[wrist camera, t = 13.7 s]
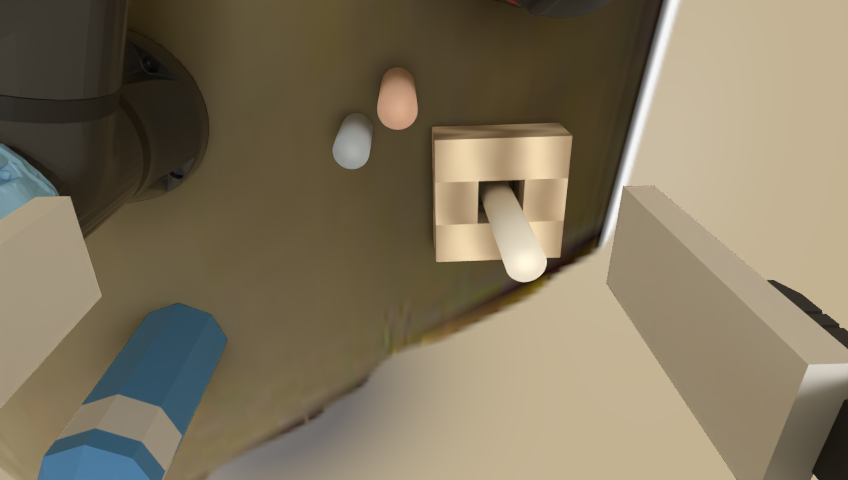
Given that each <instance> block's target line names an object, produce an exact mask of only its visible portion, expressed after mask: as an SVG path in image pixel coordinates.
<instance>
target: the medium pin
mask: <svg viewBox="0 0 848 480" xmlns="http://www.w3.org/2000/svg"><path fill="white" fill-rule="evenodd" d="M417 112H418V107H417V98H416V90H415V82H414V78H413V76H412V74H411V73H410V72H409V71H408V70H407V69H405V68H402V67H394V68H391V69H389V70H388V71H387V72H386V73H385V74H384V75H383V78H382V82H381V87H380V93H379V99H378V105H377V113H378V116H379V119H380V120H381V122H382V123H383V124H384V125H385V126H387V127H388V128H391V129H395V130H400V129H404V128H407V127H409V126H410V125H411V124H412V123H413V122H414V121H415V119H416V117H417Z"/></svg>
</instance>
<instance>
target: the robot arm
mask: <svg viewBox="0 0 848 480" xmlns="http://www.w3.org/2000/svg"><path fill="white" fill-rule="evenodd" d="M128 8H129V0H0V409H1V407H2V406H3V405H4V404H5V403H6V402H7V401H8V400H9V399H10V397H11V396H12V395H13V394H14V393H15V392H16V391H17V390H18V389H19V387H20V386H21V385H22V384H23V383H24V382H25V381H26V380H27V379H28V377H29V376H30V375H31V374H32V373H33V372H34V371H35V370H36V369H37V367H38V366H39V365H40V364H41V363H42V362H43V361H44V360H45V359H46V357H47V356H48V355H49V354H50V353H51V352H52V351H53V350H54V349H55V347H56V346H57V345H58V344H59V343H60V342H61V341H62V340H63V339H64V338H65V336H66V335H67V334H68V333H69V332H70V331H71V330H72V329H73V328H74V326H75V325H76V324H77V323H78V322H79V321H80V320H81V319H82V318H83V316H84V315H85V314H86V313H87V312H88V311H89V310H90V309H91V308H92V306H93V305H94V304H95V303H96V302H97V301H98V300H99V299H100V298H101V296H102V295H101V292H100V289H99V286H98V283H97V280H96V276H95V273H94V270H93V267H92V264H91V261H90V257H89V254H88V251H87V248H86V245H85V242H84V239H85V238H87V237H88V236H89V235H90V234H91V233H92V232H94V231H95V230H96V229H97V228H98V227H99V226H101V225H102V224H103V223H104V222H105V221H106V220H108V219H109V218H110V217H111V216H112V215H113V214H114V213H116V212H117V211H118V210H119V209H120V208H121V207H123V206H124V205H125V204H126V203H131V202H137V201H143V200H148V199H152V198H156V197H158V196H161V195H163V194H165V193H167V192H169V191H171V190H173V189H174V188H176V187H177V186H179V185H180V184H181V183H182V182H183V181H184V180H185V179H186V178H187V177H188V176H189V175H190V174H191V173H192V172H193V171H194V170H195V169H196V168H197V166H198V165H199V163H200V161H201V159H202V157H203V155H204V153H205V150H206V146H207V142H208V133H209V124H208V116H207V111H206V107H205V103H204V100H203V98H202V95H201V93H200V91H199V89H198V87H197V85H196V83H195V81H194V80H193V78H192V77H191V75H190V74H189V73H188V71H187V70H186V69H185V68H184V66H183V65H182V64H181V63H180V62H179V61H178V60H177V59H176V58H175V57H174V56H173V55H172V54H171V53H169V52H168V51H167V50H166V49H164V48H163V47H162V46H160V45H159V44H157V43H155V42H154V41H152V40H150V39H148V38H147V37H144V36H142V35H140V34H138V33H135V32H132V31H129V30H127V19H128ZM606 284H607V285H608V287H609V288H610V290H611V291H612V293H613V294H614V296H615V297H616V299H617V300H618V302H619V303H620V305H621V306H622V308H623V309H624V311H625V312H626V314H627V315H628V317H629V318H630V320H631V321H632V323H633V324H634V326H635V327H636V329H637V330H638V332H639V333H640V335H641V336H642V338H643V339H644V341H645V342H646V344H647V345H648V347H649V348H650V350H651V351H652V353H653V355H654V356H655V358H656V359H657V360H658V362H659V364H660V365H661V366H662V368H663V370H664V371H665V372H666V374H667V375H668V377H669V379H670V380H671V382H672V383H673V385H674V386H675V388H676V389H677V391H678V392H679V394H680V395H681V397H682V398H683V400H684V401H685V402H686V404H687V406H688V407H689V409H690V410H691V412H692V413H693V415H694V416H695V418H696V419H697V420H698V422H699V424H700V425H701V427H702V428H703V430H704V431H705V433H706V434H707V436H708V437H709V439H710V440H711V442H712V443H713V445H714V446H715V448H716V449H717V451H718V452H719V454H720V455H721V457H722V458H723V460H724V461H725V463H726V464H727V466H728V467H729V469H730V470H731V472H732V473H733V475H734V476H735V478H736V479H737V480H811V478H812V476H813V474H814V475H815V476H816V477H817V479H818V480H848V331H847V330H845V329H844V328H840V327H839V324H838V323H837V322H835V321H834V320H833V319H831V317H829V316H828V315H827V314H822V310H821V309H819V308H818V307H817V306H816V305H814V304H813V303H812V302H811V301H809V300H808V299H807V298H806V297H805V296H803V295H802V294H800V293H798V292H796V291H794V290H792V289H790V288H788V287H786V286H784V285H782V284H780V283H778V282H776V281H774V280H765V279H764V278H763V277H762V276H761V275H759V274H758V273H757V272H756V271H755V270H753V269H752V268H751V267H750V266H749V265H747V264H746V263H745V262H744V261H743V260H742V259H740V258H739V257H738V256H737V255H736V254H735V253H733V252H732V251H731V250H730V249H729V248H727V247H726V246H725V245H724V244H723V243H721V242H720V241H719V240H718V239H717V238H716V237H714V236H713V235H712V234H711V233H710V232H708V231H707V230H706V229H705V228H704V227H703V226H701V225H700V224H699V223H698V222H696V221H695V220H694V219H693V218H692V217H691V216H689V215H688V214H687V213H686V212H685V211H684V210H682V209H681V208H680V207H679V206H678V205H677V204H675V203H674V202H673V201H672V200H671V199H669V198H668V197H667V196H666V195H665V194H663V193H662V192H661V191H660V190H659V189H658V188H656V187H655V186H623V190H622V196H621V202H620V208H619V213H618V219H617V225H616V231H615V236H614V243H613V249H612V254H611V259H610V265H609V271H608V277H607V282H606Z"/></svg>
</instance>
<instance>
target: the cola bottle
mask: <svg viewBox="0 0 848 480" xmlns="http://www.w3.org/2000/svg"><path fill="white" fill-rule="evenodd" d="M495 1H500V2H505V3H507V4H509V5H512V6H515V7H519V8H525V9H527V10H528V11H529V12H530V13H531V14H534V15H539V14H540V15H543V16H548V17H554V18H569V17H576V16H581V15H584V14H587V13H590V12H593V11H595V10H597V9H599V8H601V7H603V6H604V5H606V4H608V3H609V2H611V1H612V0H495Z"/></svg>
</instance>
